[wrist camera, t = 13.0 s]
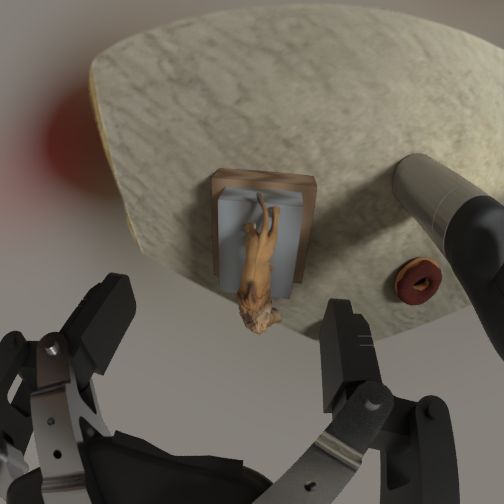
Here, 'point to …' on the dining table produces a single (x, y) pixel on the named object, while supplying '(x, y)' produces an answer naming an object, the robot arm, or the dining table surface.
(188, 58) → the dining table surface
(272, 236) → the lion figurine
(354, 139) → the dining table surface
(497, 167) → the dining table surface
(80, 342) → the robot arm
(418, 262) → the donut
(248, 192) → the two-tone block
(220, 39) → the dining table surface
